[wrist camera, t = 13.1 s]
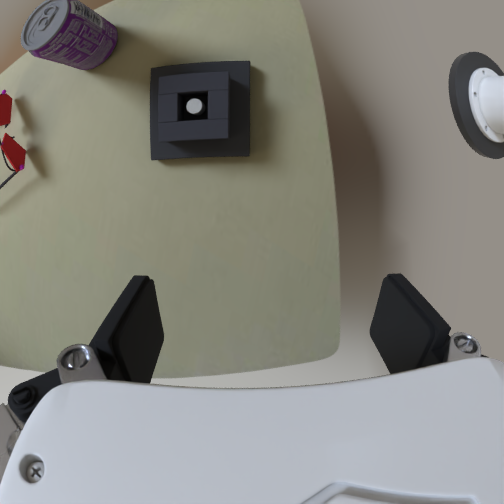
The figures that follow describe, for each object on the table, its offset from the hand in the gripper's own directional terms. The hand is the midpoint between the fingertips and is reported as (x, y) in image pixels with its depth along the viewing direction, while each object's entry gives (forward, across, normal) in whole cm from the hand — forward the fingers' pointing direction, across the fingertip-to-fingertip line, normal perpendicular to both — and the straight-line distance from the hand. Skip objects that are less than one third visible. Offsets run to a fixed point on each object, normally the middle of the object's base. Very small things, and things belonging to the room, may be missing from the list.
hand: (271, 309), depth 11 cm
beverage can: (+23, +20, -21) cm, 37 cm away
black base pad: (+23, +6, -10) cm, 26 cm away
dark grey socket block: (+22, +6, -10) cm, 25 cm away
